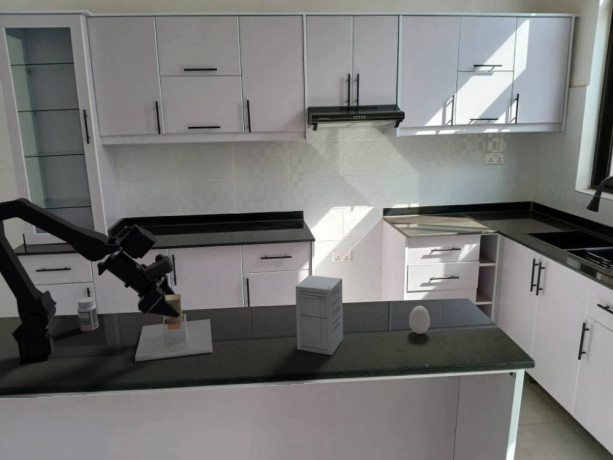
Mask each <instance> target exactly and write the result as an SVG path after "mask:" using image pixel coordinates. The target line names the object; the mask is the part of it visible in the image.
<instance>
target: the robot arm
mask: <svg viewBox="0 0 613 460" xmlns="http://www.w3.org/2000/svg"><path fill="white" fill-rule="evenodd" d="M15 218H17V219H20V220H22V221H24V222H26V223H28V224H30V225H31V226H34V227H36V228H38V229H39V230H41V231H44V232H46V233H48V234H49V235H51V236H54V238H55V237H56V238H57V239H59V240H61V241H63V242H65V243H67V244H68V245H69V246H70V247H71V248H72V249H73V250H74V251H75V252H76V253H78V254H79V255H80V256H81V257H82V258H84V259H85V260H87V261H90V262H92V263H93V262H94V263H95V262H98V263H97V264H96V266H97V272H98V273H97V274H98V276H102V275H103V274H104V273H105V272H106V271H107V272H108V273H110V274H112V275H113V276H114V277H116V278H117V279H118V280H120V281H121V282H122V283H123V284H124V285H123V287H125V288H126V289H128V288H131V289H132V290H133V291H135V293H137V297H138V298H139V299H138V304H137V310H138V311H139V312H140V313H142V314H143V315H146V314H148V315H150V314H155V315H158V316H159V315H161V316H170V317H175V318H178V317H179V315H180V314H179V313H178V312H177V310H176V309H175V308H174V307H173V306H172V305H171V304H170V303H169V302H168V301H167V300H166V297H165V295H175V294H176V293H175V291H174V290H173V289H172V287H171V286H170V285H169V275H167V274H170V273H172V272H173V271H174V267H175V266H174V263H173V262H172V261H171V258H170V257H169V256H168V255H164V254H162V253H159V254H156V255H155V257H154V262H152V263H151V264H149V265H147V264H146V263H138V262H137V261H136V260H138V259H143V258H144V257H146V255H147V253H149V252H150V251H151V249H153V247H154V246H155V245H156V244H157V243H158V239H157V238H156V236H155V235H154V234H153V233H152V232H150V231H149V230H147V229H145V228H144V227H141V226H139V225H138V224H136V223H135V224H134V225H132V226H131V228H130V230H129V231H128V232H127V233H126V235H124V236H123V237H115V236H114V237H113V236H108V235H107V234H105V233H102V232H99V231H96V230H94V229H90V228H87V227H86V228H85V227H80V226H79V225H78V226H77V225H76V224H73V223H72V222H70V221H68V220H66V219H65V218H62V217H61V216H58V215H56V214H54V213H53V212H51V211H49V210H47V209H45V208H43V207H41V206H39V205H37V204H35V203H33V202H32V201H30V200H29V199H27V198H26V197H19V198H16V199H13V200H7V201H2V202H0V275H1V276H2V278H3V280H4V281H5V282H6V285H7V286H8V288H9V289H10V292H11V293H12V294H13V296H14V297H15V300H16V306H17V307H16V308H17V314H18V317H19V319H20V321H21V322H20V324H19V325H18V326H17V327H16V329H15V330H14V331H13V332H12V333H11V335H12V337H13V338H14V340H15V342H17V348H18V349H17V350H18V355H19V359H18V360H17V364H19V365H21V364H27V363H28V364H29V363H35V362H42V361H47V360H49V359H50V357H51V355H52V353H53V352H54V349H55V348H54V347H55V346H54V339H53V334H50V330H49V328H47V326H49V324H50V323H51V321H52V320H53V318H54V317H55V316H56V313H57V307H56V305H57V304H58V303H57V302H56V301H55V300H54V299H53V297H52V295H51V292H50V290H48V289H47V290H46V291H44V292H43V291H42V290H39V289H38V288H37V287H36V285H35V284H34V282H33V281H32V279H31V277H30V275H29V274H28V272H27V270H26V269H25V267H24V266H23V264H22V262H21V260H20V259H19V257H18V255H17V253H16V252H15V250H14V249H13V247H12V245H11V243H10V242H9V240H8V238H7V236H6V233H5V232H6V230H5V225H4V221H6V220H11V219H15ZM120 248H121V249H120ZM119 249H120V250H119ZM118 250H119V251H118ZM116 252H117V253H116ZM115 253H116V254H115ZM106 256H108V257H107V258H106ZM105 258H106V259H105ZM103 259H105V260H104V261H102V260H103Z"/></svg>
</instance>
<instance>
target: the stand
mask: <svg viewBox="0 0 613 460" xmlns="http://www.w3.org/2000/svg"><path fill="white" fill-rule="evenodd" d="M182 317H183V322H176V323H166V316H165V315H163V318H162V319H163V320H162V323H160V324H152V325H150V324H149V325H142V329H141V333H140V336H139V341H138V345H137V349H136V352H135V355H134V359H135V362H143V361H149V360H151V361H152V360H158V359H159V360H160V359H167V358H175V357H184V356H192V355H201V354H202V355H203V354H209V353H213V352H214V351H213V342H212V341H213V339H212V338H213V337H212V330H211V318H208V319H199V320H190V321H187V314H186V313H182Z"/></svg>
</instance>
